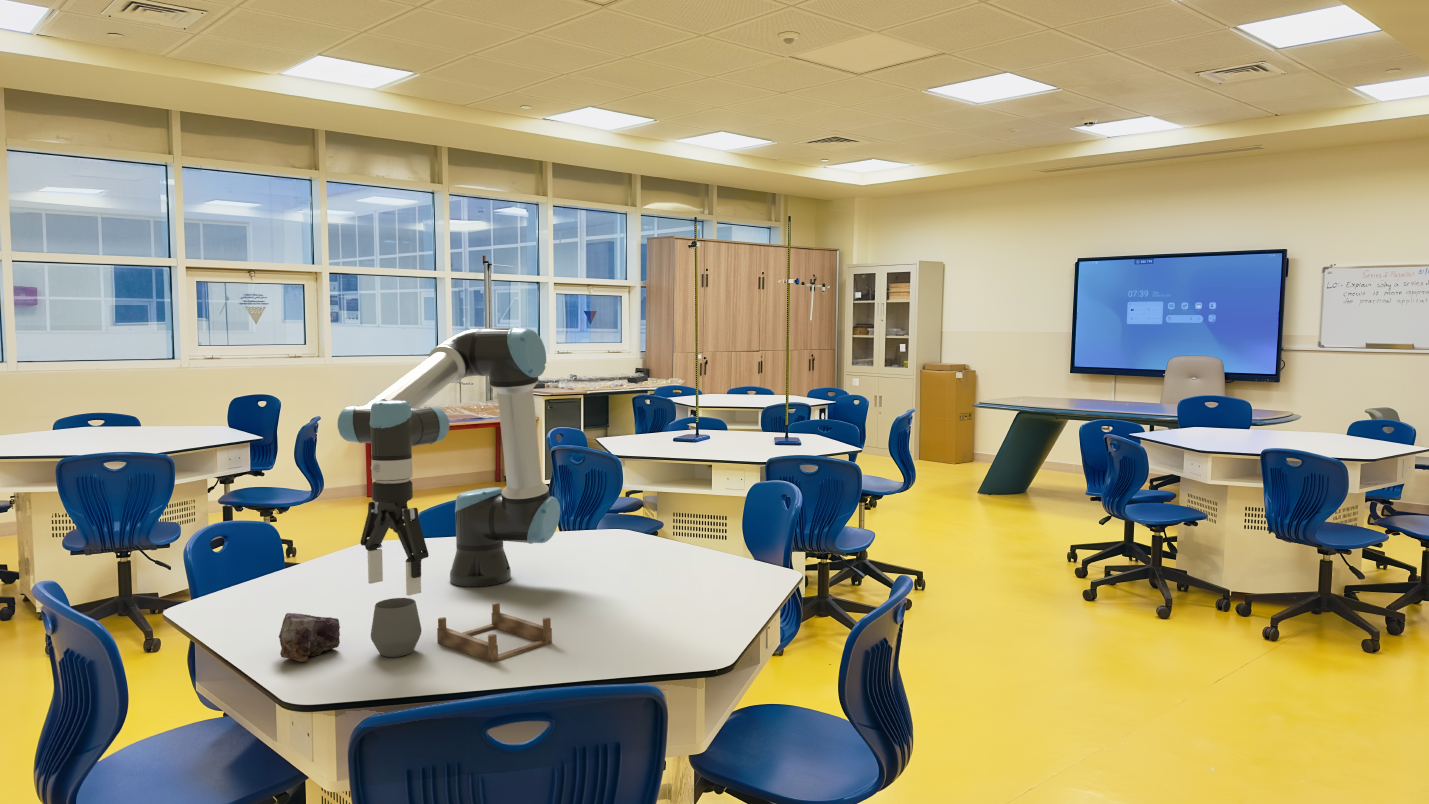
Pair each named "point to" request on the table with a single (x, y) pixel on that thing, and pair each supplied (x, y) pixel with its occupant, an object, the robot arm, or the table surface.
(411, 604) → the cup
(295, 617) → the rock
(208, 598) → the table surface
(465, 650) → the frame
